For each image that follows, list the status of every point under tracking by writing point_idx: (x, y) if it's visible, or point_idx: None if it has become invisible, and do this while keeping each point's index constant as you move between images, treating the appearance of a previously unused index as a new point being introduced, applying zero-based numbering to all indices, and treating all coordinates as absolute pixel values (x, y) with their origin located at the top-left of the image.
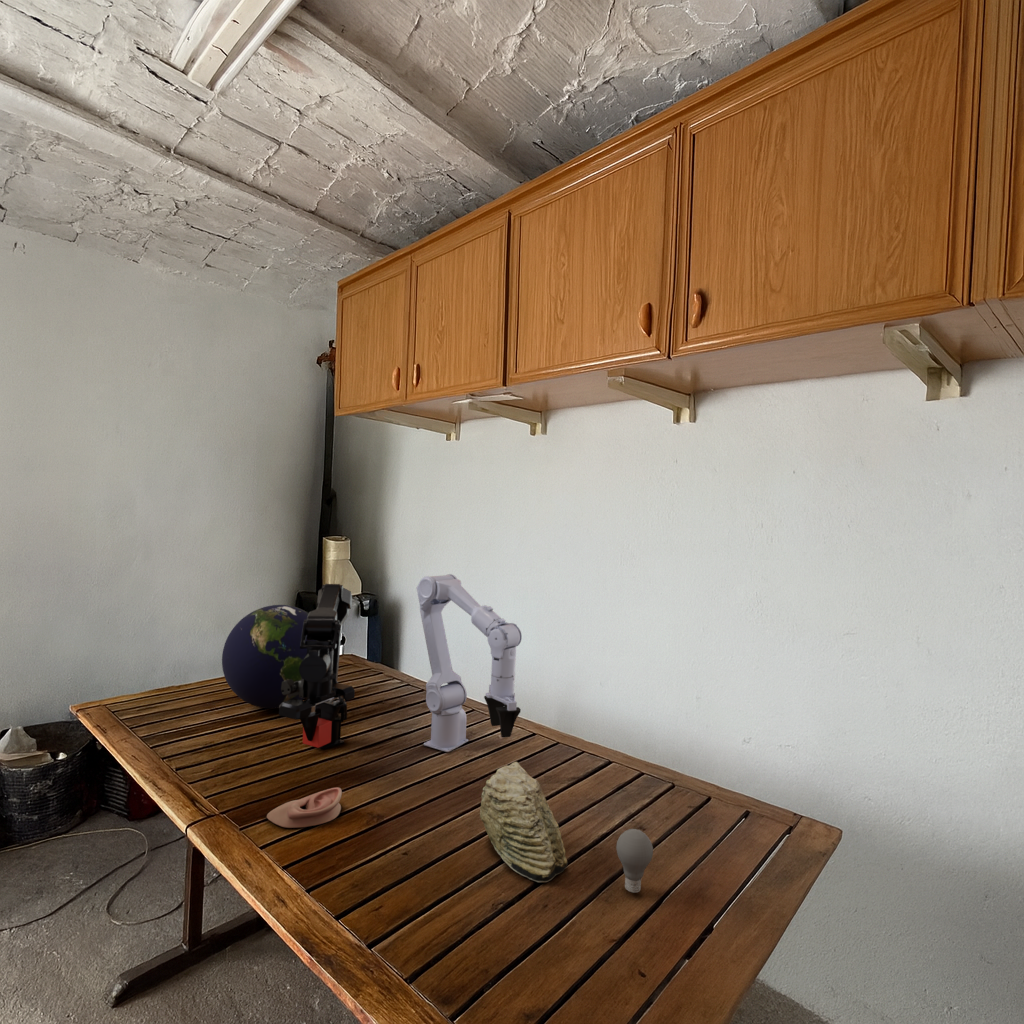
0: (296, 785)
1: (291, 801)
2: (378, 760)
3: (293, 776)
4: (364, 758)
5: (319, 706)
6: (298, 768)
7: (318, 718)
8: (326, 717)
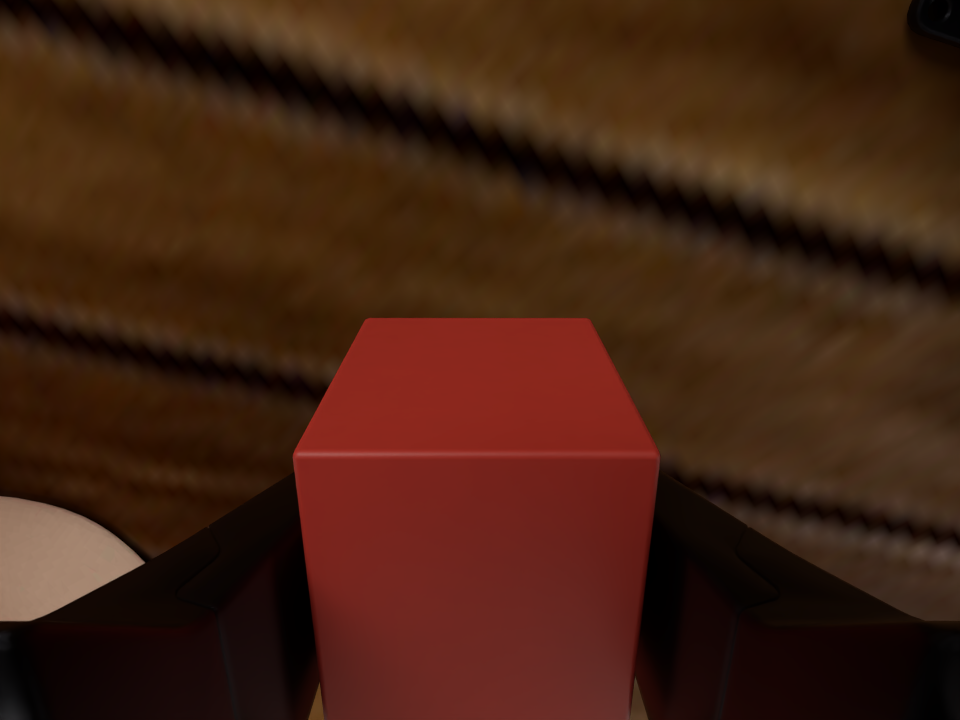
0: (253, 350)
1: (5, 567)
2: (867, 536)
3: (340, 221)
4: (865, 443)
5: (821, 645)
6: (472, 140)
7: (612, 543)
8: (675, 673)
